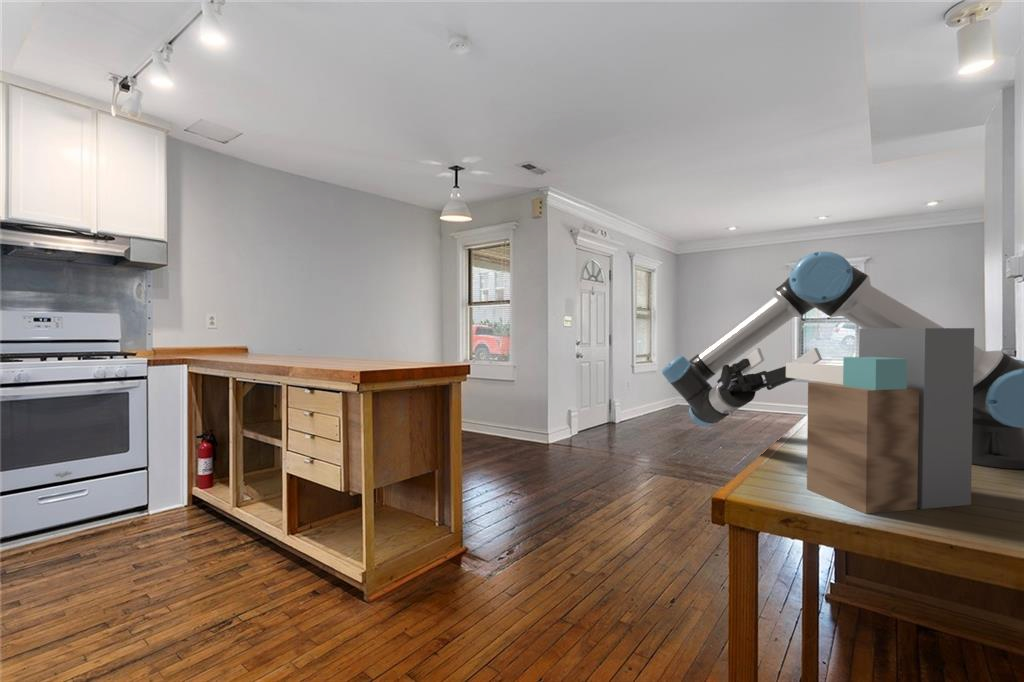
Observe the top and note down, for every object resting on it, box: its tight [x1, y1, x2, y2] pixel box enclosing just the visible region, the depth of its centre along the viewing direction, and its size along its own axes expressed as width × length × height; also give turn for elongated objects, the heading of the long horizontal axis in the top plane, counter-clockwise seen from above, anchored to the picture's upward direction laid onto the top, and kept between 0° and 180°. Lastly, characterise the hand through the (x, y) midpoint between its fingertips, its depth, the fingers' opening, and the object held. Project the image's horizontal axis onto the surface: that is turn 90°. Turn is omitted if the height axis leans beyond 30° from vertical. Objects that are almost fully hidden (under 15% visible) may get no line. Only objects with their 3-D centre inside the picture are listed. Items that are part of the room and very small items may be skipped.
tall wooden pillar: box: [806, 381, 919, 514], centre depth 83 cm, size 10×12×20 cm
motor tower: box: [858, 327, 975, 510], centre depth 84 cm, size 10×12×30 cm
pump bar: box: [785, 356, 907, 390], centre depth 87 cm, size 6×21×5 cm, turn 10°
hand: (789, 353), depth 97 cm, fingers open, 13 cm apart
